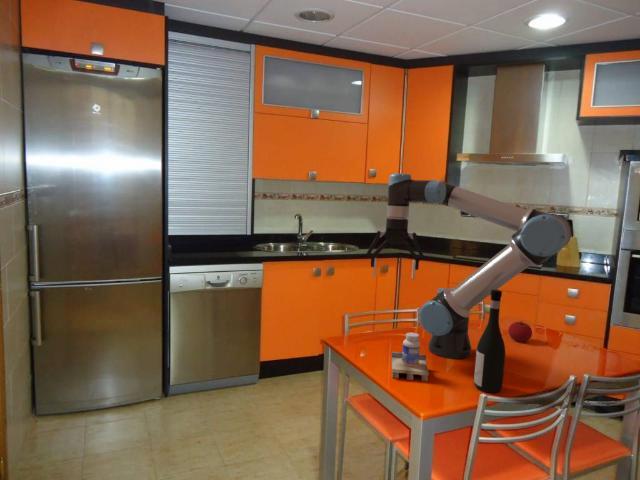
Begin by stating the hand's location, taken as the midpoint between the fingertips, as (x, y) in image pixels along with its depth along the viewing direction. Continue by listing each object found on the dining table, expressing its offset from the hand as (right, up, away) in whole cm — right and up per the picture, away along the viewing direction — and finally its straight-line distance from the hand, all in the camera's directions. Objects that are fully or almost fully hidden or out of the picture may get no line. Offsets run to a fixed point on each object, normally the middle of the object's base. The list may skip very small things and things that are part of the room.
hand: (393, 277), depth 166 cm
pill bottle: (+2, -26, -17) cm, 32 cm away
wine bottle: (+24, -31, -26) cm, 47 cm away
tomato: (+53, -27, +20) cm, 63 cm away
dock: (+2, -29, -17) cm, 34 cm away
